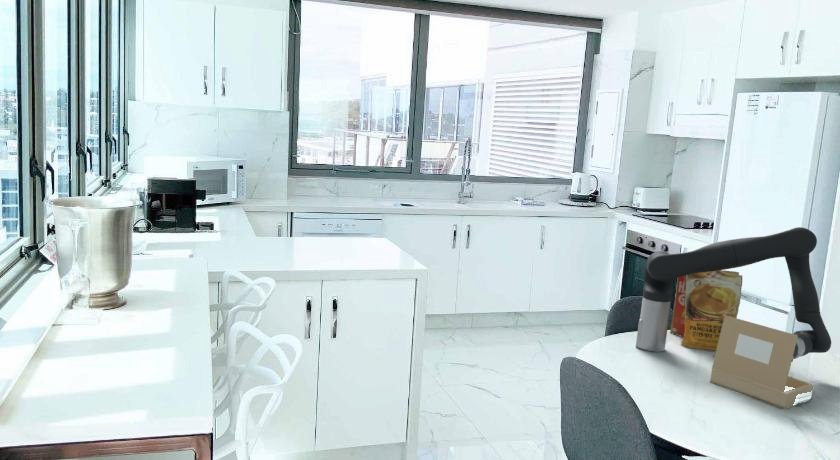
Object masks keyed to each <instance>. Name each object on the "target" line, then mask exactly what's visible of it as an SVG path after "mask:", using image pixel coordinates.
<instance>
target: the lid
mask: <svg viewBox="0 0 840 460" xmlns="http://www.w3.org/2000/svg"><path fill="white" fill-rule="evenodd" d="M797 337H798V335H795V334H793V333H790V332H787V331H784V330H779V329H776V328H773V327H769V326H765V325H762V324H758V323H754V322H750V321H747V320H744V319H741V318H738V317H737V318H734V317H730V316H726V315H725V316H724V320H723V325H722V329H721V333H720V337H719V341H718V345H717V349H716V352H715V355H714V358H713V361H712V366H711V369H712V368H715V369H718V370H720V371H723V372H726V373H729V374H732V375H735V376H738V377H741V378H743V379H746V380H749V381H752V382H755V383H758V384H761V385H764V386H767V387H769V388H772V389H775V390H778V391H781V392H784V390H785V386H786V382H787V378H788V376H789V374H790V370H791V365H792V363H793V362H792V358H793V354H794V350H795V346H796V342H797Z"/></svg>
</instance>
